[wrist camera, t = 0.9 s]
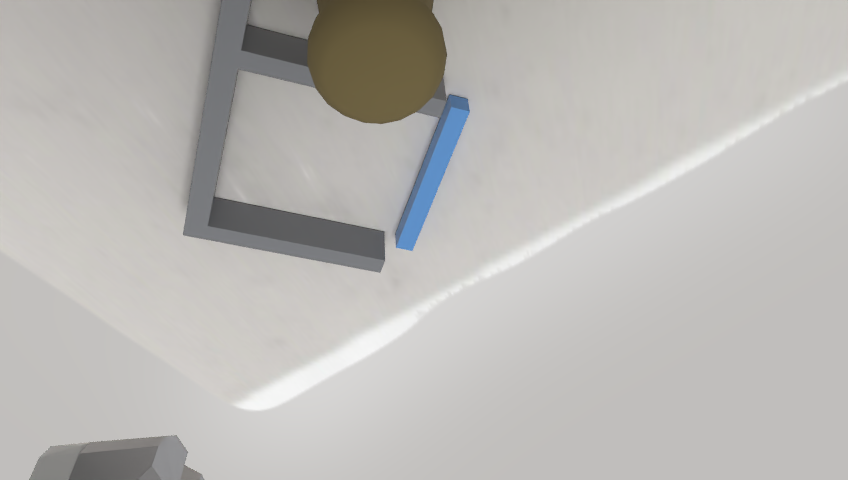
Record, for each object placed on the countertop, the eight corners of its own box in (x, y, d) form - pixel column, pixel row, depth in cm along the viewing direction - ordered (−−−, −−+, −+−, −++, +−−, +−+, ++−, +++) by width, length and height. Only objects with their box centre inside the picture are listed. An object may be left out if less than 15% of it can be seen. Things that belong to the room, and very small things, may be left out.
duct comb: (190, 206, 46) (182, 235, 45) (263, -231, 32) (257, -215, 30) (406, 249, 50) (408, 278, 48) (560, -131, 35) (571, -112, 33)
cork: (420, 29, 40) (435, 162, 32) (297, 0, 39) (279, 131, 30) (456, -92, 36) (484, 23, 28) (322, -129, 35) (309, -19, 27)
